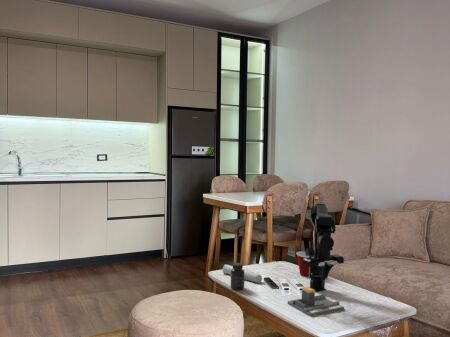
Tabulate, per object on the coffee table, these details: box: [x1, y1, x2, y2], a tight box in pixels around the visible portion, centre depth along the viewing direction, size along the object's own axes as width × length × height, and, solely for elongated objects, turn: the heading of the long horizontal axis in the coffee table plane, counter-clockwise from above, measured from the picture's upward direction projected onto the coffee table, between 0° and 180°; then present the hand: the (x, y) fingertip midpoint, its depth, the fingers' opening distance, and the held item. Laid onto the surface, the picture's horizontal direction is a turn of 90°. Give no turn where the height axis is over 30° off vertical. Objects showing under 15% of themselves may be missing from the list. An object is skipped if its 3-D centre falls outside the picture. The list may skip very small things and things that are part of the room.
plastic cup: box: [295, 251, 314, 278], centre depth 226 cm, size 11×11×12 cm
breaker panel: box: [287, 294, 345, 318], centre depth 179 cm, size 18×16×3 cm
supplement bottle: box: [230, 262, 245, 291], centre depth 202 cm, size 7×7×12 cm
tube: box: [222, 264, 263, 284], centre depth 219 cm, size 5×5×25 cm
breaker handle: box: [301, 286, 316, 307], centre depth 177 cm, size 3×5×7 cm, turn 27°
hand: (323, 280), depth 180 cm, fingers closed
